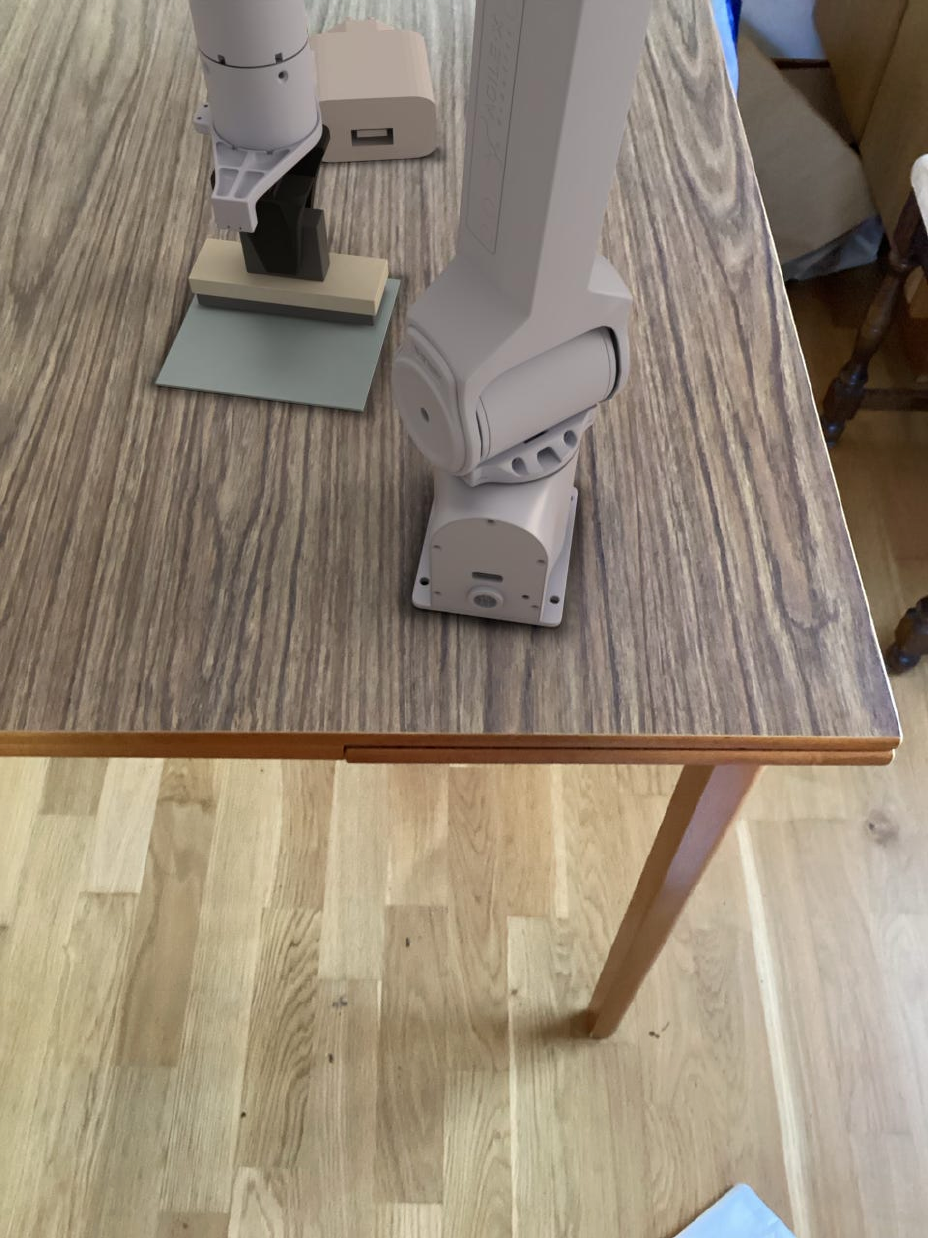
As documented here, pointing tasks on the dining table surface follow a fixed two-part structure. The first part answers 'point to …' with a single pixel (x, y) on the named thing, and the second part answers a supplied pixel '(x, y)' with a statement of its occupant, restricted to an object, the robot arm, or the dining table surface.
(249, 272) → the brush
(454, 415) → the robot arm
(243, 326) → the mat
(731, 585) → the dining table surface
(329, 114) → the charger
